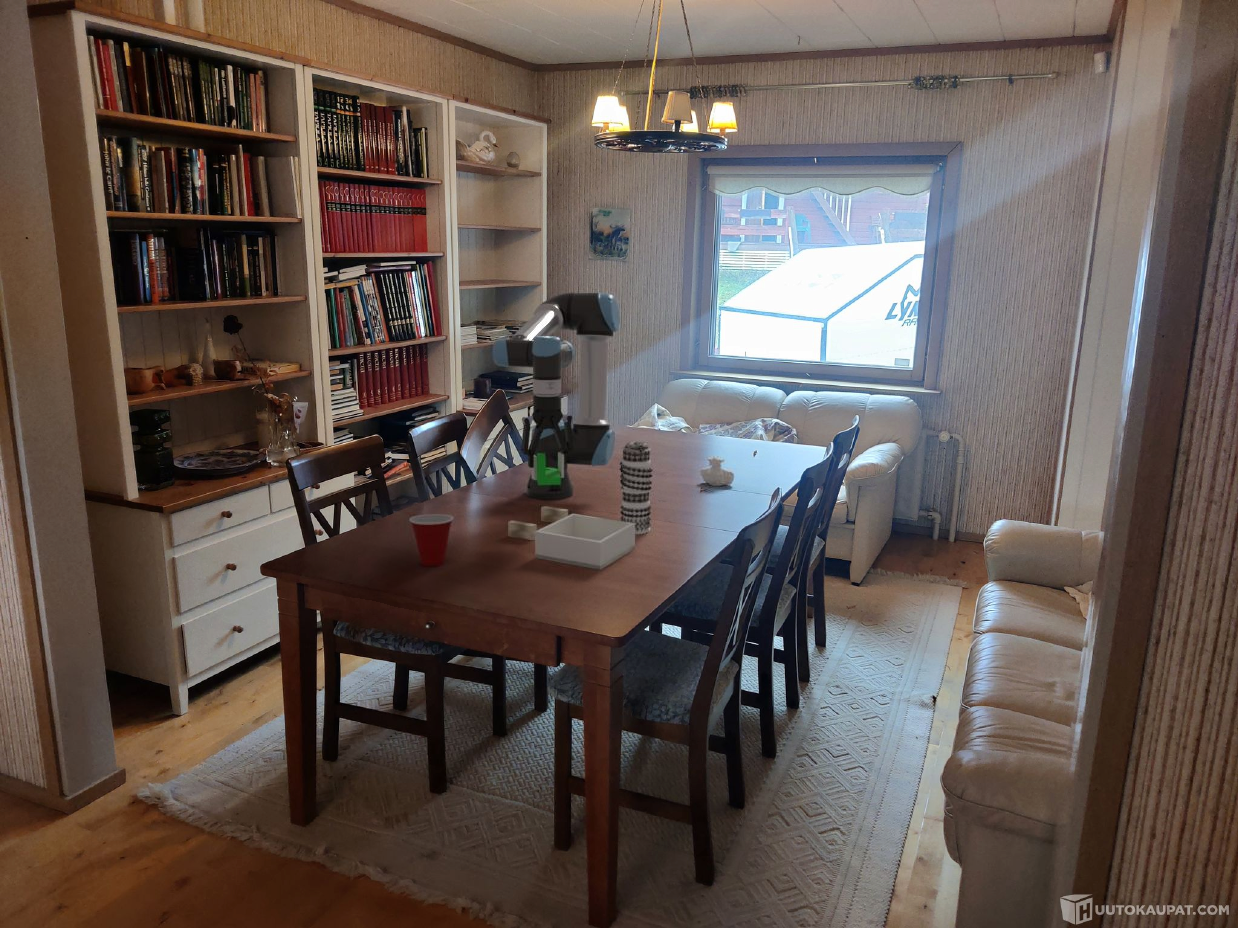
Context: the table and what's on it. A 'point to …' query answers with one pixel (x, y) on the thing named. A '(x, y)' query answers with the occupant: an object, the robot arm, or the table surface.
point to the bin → (585, 541)
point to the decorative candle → (636, 486)
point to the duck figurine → (716, 473)
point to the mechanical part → (546, 472)
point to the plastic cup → (432, 537)
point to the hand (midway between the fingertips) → (547, 477)
